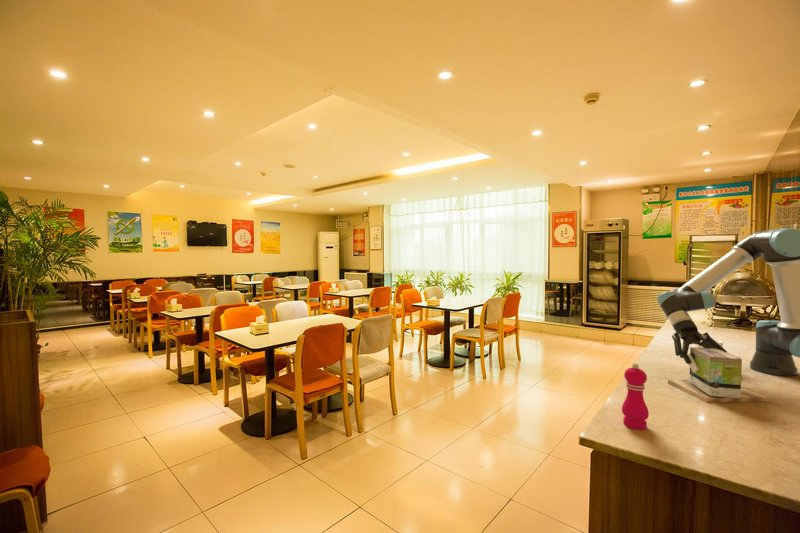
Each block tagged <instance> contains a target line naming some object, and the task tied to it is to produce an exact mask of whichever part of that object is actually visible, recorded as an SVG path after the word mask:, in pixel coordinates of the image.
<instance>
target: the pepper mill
mask: <svg viewBox="0 0 800 533" xmlns="http://www.w3.org/2000/svg"><path fill="white" fill-rule="evenodd" d="M623 377H624V379H625V380H626V382H625V384H626V385H625V386H626V388H627V394H626V397H625V399H624V401H623V403H622V406H621V412H622V414H623V425H625V426H626V427H627V426H628V428H630V429H632V430H638V431H641V430H642V431H643V430H644V431H645V430H646V429H647V427H648V422H647V419H648V418H649V417H650V414H649V413H650V412H649V409H648V406H647V404H646V402H645V399H644V391H645V383H646V382H647V380H648V378H647V374H646V372H645V371H644V370H643V369H641V368H640V365H639V364H638V363H636V362H635V363H633V364H632V366H631V367H629V368H627V369H625V371H624V376H623Z"/></svg>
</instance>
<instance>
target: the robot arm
mask: <svg viewBox="0 0 800 533" xmlns="http://www.w3.org/2000/svg"><path fill="white" fill-rule="evenodd" d="M730 249H731V250H730V251H729V252H728V253H726V254H725V255H723V256H722V257H721V258H719V259H718V260H717V261H715V262H714V263H713V264H711V265H709V267H707V268H706V269H704V270H703V271H701V272H700V273H699V274H697V275H696V276H695V277H693V278H692V279H690V280H689V281H688V282H686V283H685V284H683V285H682V286H680V287H679V288H674V289H672V290H669V291H664V292H662V293H661V294H659V295H658V296H657V299H656V300H657V303H658V306H659V307H660V308H661V310H662V311H663V313H664V314H665V316H666V318H667V319H668V321H669V323H670V324H671V326H672V328H673V330H674V331H675V332H674V333H673V334H672V335H671V338H672V341H673V344H674V351H675V352H674V354H675V355H676V357H679V358H680V359H683V361H684V362H685V364H686V365H688V366H689V369H690V368H691V369H692V371H693V373H696V372H697V371H698V370H700V369H699V368H698V366H697V365H696V363H695V361H694V360H693V358H692V356H691V355H690V353H688V352H689V350H690V345H697V344H698V345H699V346H702V347H704V348H712V349H719V350H722V351H724V352H727V353H728V351H727V350H726V349H725V348H724V347H721V346H720V345H719V344H718V343H717V342H716V341H715V340H716V339H715V340H713V339H714V338H713V337H711V335H710V334H709V332H704V333H701V332H700V331H699V330H698V327H697V325H696V323H695V321H693V318H692V317H691V315H690V314H689V313H688V312H695V311H699V310H707V309H710V308H711V309H712V308H713V307H715V305H716V300H715V297H714V295H713V294H712V293H711V291H708V290H710V289H711V288H712V287H714V286H716V285H717V284H718V283H720V282H721V281H723V280H724V279H726V277H728V276H730V275H731V274H732V273H734V272H736V271H737V270H739V269H740V268H741V267H742V266H744V265H745V264H747V263H753V262H755V261H756V260H758V259H760V258H764V263H765V264H767V265H769V266H770V268H771V273H772V279H773V284H774V285H773V286H774V290H775V295H776V300H777V306H778V310H779V316H780V320H769V319H768V320H764V319H763V320H762V319H761V320H758V321H757V322H756V324H755V325H756V326H755V352H754V354H753V357H752V359H751V360H750V362H749V368H750V369H752V370H754V371H756V372H760V373H764V374H768V375H776V376H783V377H796V376H798V373H799V370H798V367H797V366H796V362H795V361H794V358H793V356H794V357H797V358H800V229H797V228H789V227H788V228H787V227H781V228H774V229H763V230H762V229H760V230H758V231H755V232H753V233H751V234H750V235H748V236H746V237H745V238H743V239H742V240H740V241H739V242H737V243H736V244H734V245H733V246H731V248H730ZM681 340H682V341H683V342H682V341H681ZM701 340H702V342H700V341H701Z"/></svg>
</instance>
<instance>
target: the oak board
mask: <svg viewBox="0 0 800 533" xmlns="http://www.w3.org/2000/svg"><path fill="white" fill-rule="evenodd" d="M667 383H668V384H669V385H671V386H673V387H674V388H677V389H679V390H681V391H683V392H684V393H687V394H689V395H691V396H693V397H695V398H697V399H699V400H701V401H703V402H705V403H729V402H730V403H731V402H732V403H734V402H735V403H737V402H738V403H740V402H742V403H743V402H746V403H747V402H748V403H749V402H751V403H753V402H770V401H771V400H770V397H769V396H768V395H765V394H763V393H759V392H757V391H755V390H752V389H749V388H747V387H745V386H743V385H741V396H740V398H730V397H718V396H710V395H708V394H707V393H705V392H704V391H702V390H701V389H699V388H698V387H696V386H695V385H693V384H692V383H690V382H689V379H668V380H667Z"/></svg>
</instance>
